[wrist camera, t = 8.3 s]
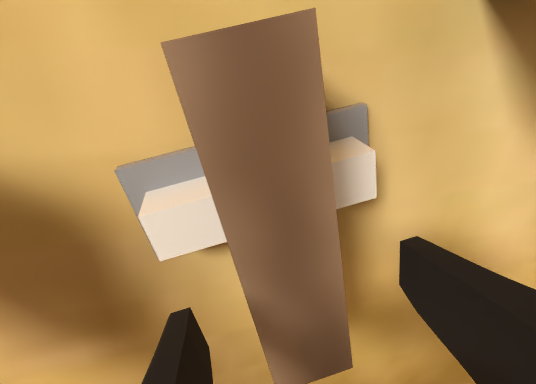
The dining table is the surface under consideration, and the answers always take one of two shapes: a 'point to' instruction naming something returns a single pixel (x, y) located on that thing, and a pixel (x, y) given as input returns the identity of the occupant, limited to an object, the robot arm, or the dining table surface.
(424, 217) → the dining table surface
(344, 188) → the ridge
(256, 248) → the walnut bar
